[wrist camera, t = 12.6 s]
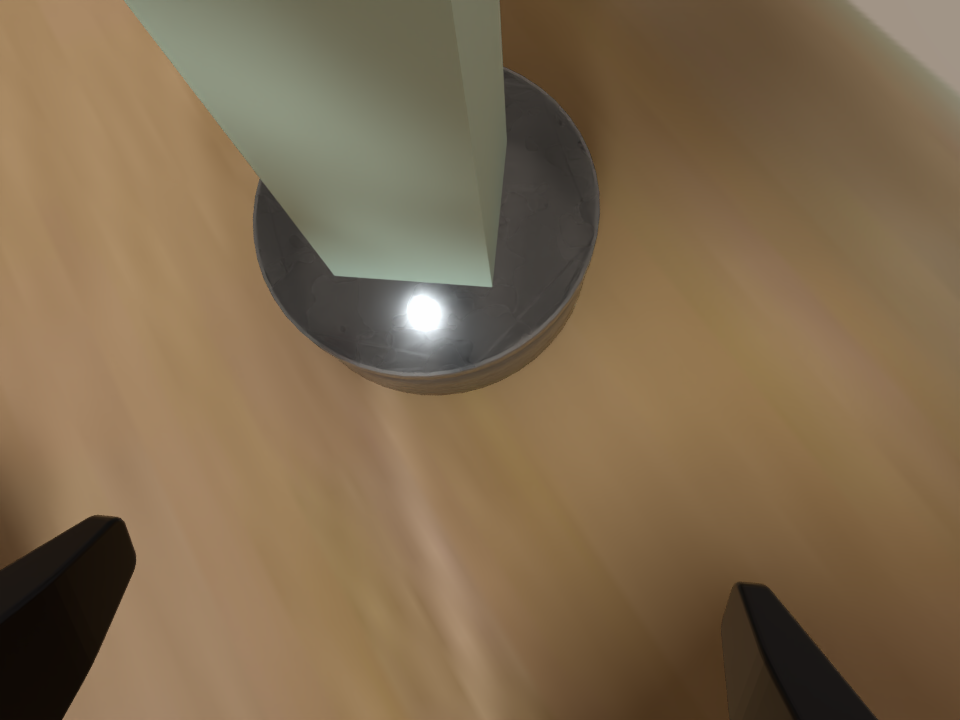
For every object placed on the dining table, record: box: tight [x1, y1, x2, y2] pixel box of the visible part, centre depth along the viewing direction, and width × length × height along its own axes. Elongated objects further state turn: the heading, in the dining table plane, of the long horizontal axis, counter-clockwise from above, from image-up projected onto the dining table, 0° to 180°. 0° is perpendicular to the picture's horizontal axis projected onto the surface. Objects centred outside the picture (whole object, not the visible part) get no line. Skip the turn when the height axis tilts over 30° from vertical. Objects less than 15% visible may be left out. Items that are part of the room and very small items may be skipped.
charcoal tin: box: [253, 66, 600, 395], centre depth 24 cm, size 11×11×4 cm
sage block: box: [124, 0, 507, 287], centre depth 16 cm, size 5×5×12 cm
